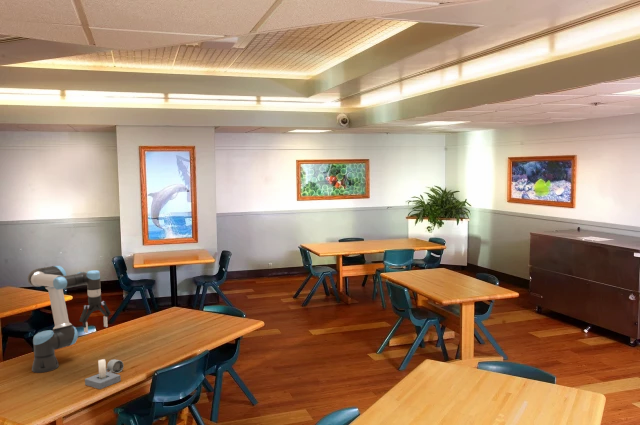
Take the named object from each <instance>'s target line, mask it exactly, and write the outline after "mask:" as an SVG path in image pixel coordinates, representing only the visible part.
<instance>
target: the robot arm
mask: <svg viewBox="0 0 640 425" xmlns="http://www.w3.org/2000/svg"><path fill="white" fill-rule="evenodd" d="M27 282H28V284H29V285H30V286H32V287H39V288H40V287H44V288H45V289H46V290H47V291H48V296H49V302H50V307H51V312H52V318H53V322H54V327H53V328H52V330H51V329H49V330H43V331H39V332H37V333H35V335H34V336H33V339H32V344H33V354H34V355H33V356H34V359H33V362H32V365H31V372H33V373H37V374H38V373H47V372H51V371H53V370H56V369H58V368H59V361H58V358H57V357H56V352H55V350H58V349H63V348H66V347H70V346H72V345H75V344H76V342H77V341H78V338H79V336H78V335H79V332H78V330H77V327H76V326H74V325H73V324H72V323H71V322H70V320H69V314H68V309H67V305H66V300H65V295H64V289H69V288H73V287H80V286H87V296H88V297H87V302H88V303H87V304H88V305H86V304H84V305H83V309H82V312H81V314H80V317H79V320H78V322H80V323H82V328H83V332H84V333H87V334H88V333H89V327H88V325H89V324H88V319H89V318H90V316H91V315H92V314H93V312H96V311H99V312H101V314H102V315H103V327H104V328H108V321H109V317H110V315H111V314H112V312H111V311H110V309H109V307H108V305H107V302H106V301H104V300H102V292H101V291H102V290H101V287H102V286H101V282H102V281H101V272H100V270H96V269H95V270H94V269H92V270H88V271H79V272H77V273H74V274H67V272H66V270H65V268H63V267H62V265H52V266H47V267H45V266H44V267H39V268H35V269H33V270H31V271H30V272H29V274H28V275H27ZM102 307H103V308H102Z"/></svg>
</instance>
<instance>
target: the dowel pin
mask: <svg viewBox="0 0 640 425" xmlns="http://www.w3.org/2000/svg"><path fill="white" fill-rule="evenodd" d="M97 362H98V363H97V364H98V365H97V366H98V374H99V379H101V380H102V379H104V378H106V369H107V362H106V359H105V358H103V359H98V360H97Z"/></svg>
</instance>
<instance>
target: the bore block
mask: <svg viewBox="0 0 640 425" xmlns="http://www.w3.org/2000/svg"><path fill="white" fill-rule="evenodd" d="M121 376H122V375H120V374H119V373H114V372H112V373H111V372H109V371H106V378H104V379H102V380H101V379H99V373H97V374H94V375H90V376H89V377H87V378H84V385H85V386H87V387H92V388H93V389H97V390H102V389H104V388H107V387H110V386H112V385H115V384H117V383H119V382H121V381H122V380H121Z"/></svg>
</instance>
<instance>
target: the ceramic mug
mask: <svg viewBox="0 0 640 425" xmlns="http://www.w3.org/2000/svg"><path fill="white" fill-rule="evenodd" d="M123 370H124V362H123V361H122V360H120V359H114V358H113V359H110V360H109V361H108V362H106V371H107V372H111V373H114V374H120V373H121V372H122V371H123Z"/></svg>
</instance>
